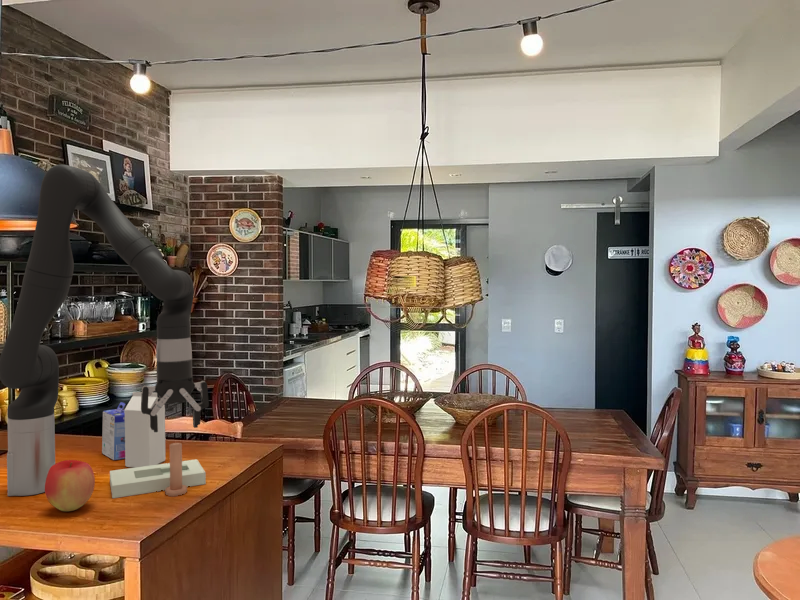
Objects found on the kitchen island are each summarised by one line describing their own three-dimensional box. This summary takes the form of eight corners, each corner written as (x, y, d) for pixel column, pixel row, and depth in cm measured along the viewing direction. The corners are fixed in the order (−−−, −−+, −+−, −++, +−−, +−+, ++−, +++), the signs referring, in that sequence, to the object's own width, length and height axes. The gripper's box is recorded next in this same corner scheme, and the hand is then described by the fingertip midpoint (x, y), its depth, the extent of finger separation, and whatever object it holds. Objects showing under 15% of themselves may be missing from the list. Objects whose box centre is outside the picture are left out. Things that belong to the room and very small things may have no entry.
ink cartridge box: (135, 457, 164) (134, 404, 164) (114, 461, 160) (113, 407, 160) (122, 450, 171) (121, 399, 171) (101, 454, 168) (100, 402, 167)
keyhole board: (112, 498, 133) (112, 485, 133) (110, 482, 143) (109, 470, 143) (205, 484, 142) (205, 472, 142) (196, 470, 153) (196, 459, 153)
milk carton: (149, 468, 154) (148, 395, 153) (125, 467, 155) (124, 394, 155) (165, 460, 161) (164, 390, 160) (142, 459, 162) (141, 389, 162)
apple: (33, 516, 122) (32, 468, 122) (65, 500, 132) (65, 455, 131) (76, 519, 121) (76, 470, 121) (106, 502, 130) (105, 456, 130)
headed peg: (166, 497, 133) (166, 448, 133) (164, 491, 137) (163, 443, 137) (188, 494, 135) (187, 445, 135) (185, 488, 139) (184, 440, 139)
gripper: (141, 362, 129) (143, 437, 129) (209, 357, 135) (211, 428, 136) (138, 358, 135) (140, 429, 136) (203, 354, 142) (205, 422, 142)
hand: (175, 429), depth 136 cm, fingers open, 8 cm apart
